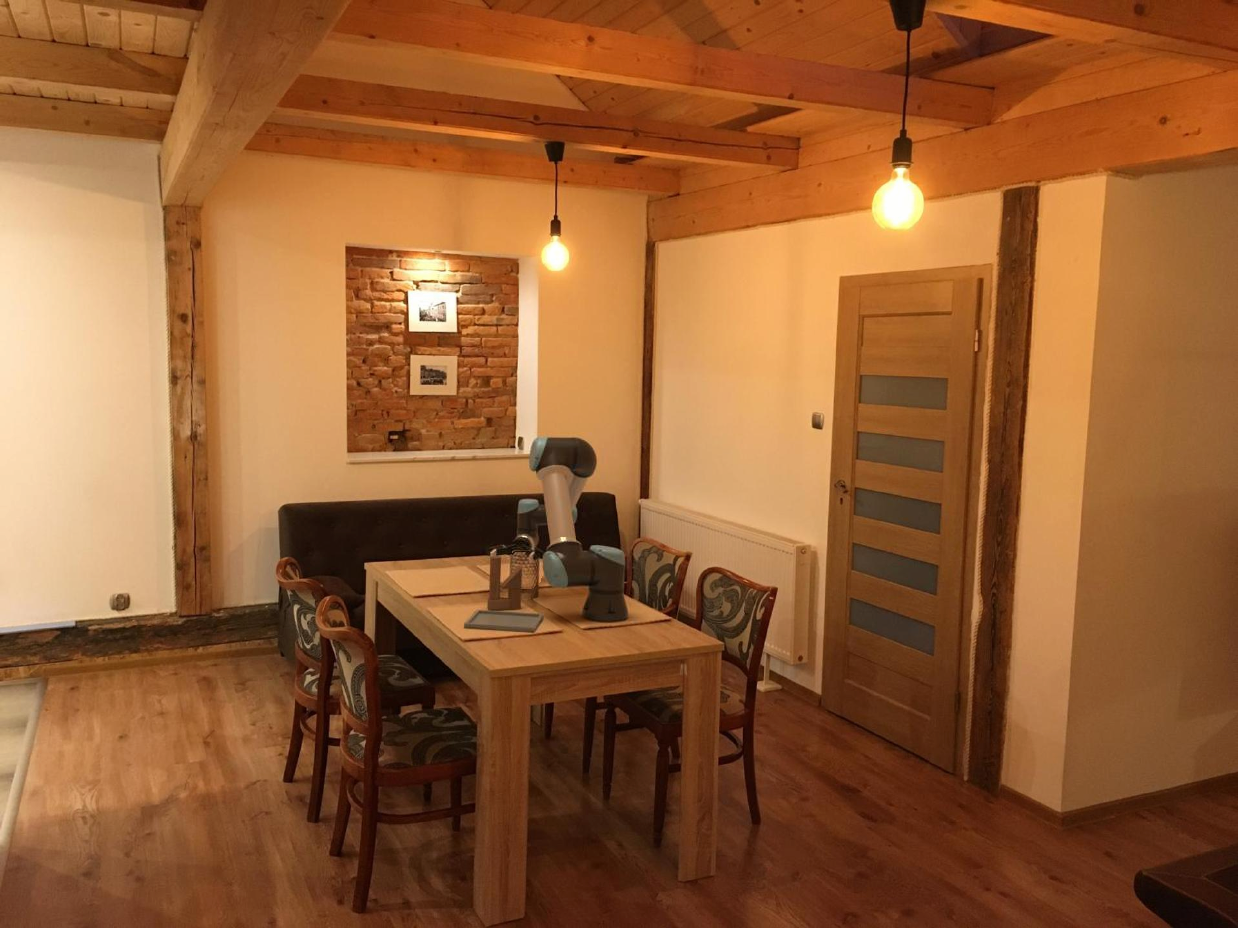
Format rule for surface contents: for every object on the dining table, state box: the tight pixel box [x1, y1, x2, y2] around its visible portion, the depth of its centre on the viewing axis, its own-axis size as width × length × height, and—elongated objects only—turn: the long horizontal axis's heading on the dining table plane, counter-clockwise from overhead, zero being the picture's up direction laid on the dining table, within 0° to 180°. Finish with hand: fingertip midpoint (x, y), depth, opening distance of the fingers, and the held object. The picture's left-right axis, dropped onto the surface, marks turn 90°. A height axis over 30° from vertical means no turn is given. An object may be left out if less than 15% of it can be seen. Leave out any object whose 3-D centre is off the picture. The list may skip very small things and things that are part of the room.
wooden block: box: [487, 555, 523, 611], centre depth 356 cm, size 4×11×18 cm, turn 113°
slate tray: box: [463, 609, 544, 633], centre depth 338 cm, size 22×18×2 cm
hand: (510, 558), depth 365 cm, fingers open, 13 cm apart
